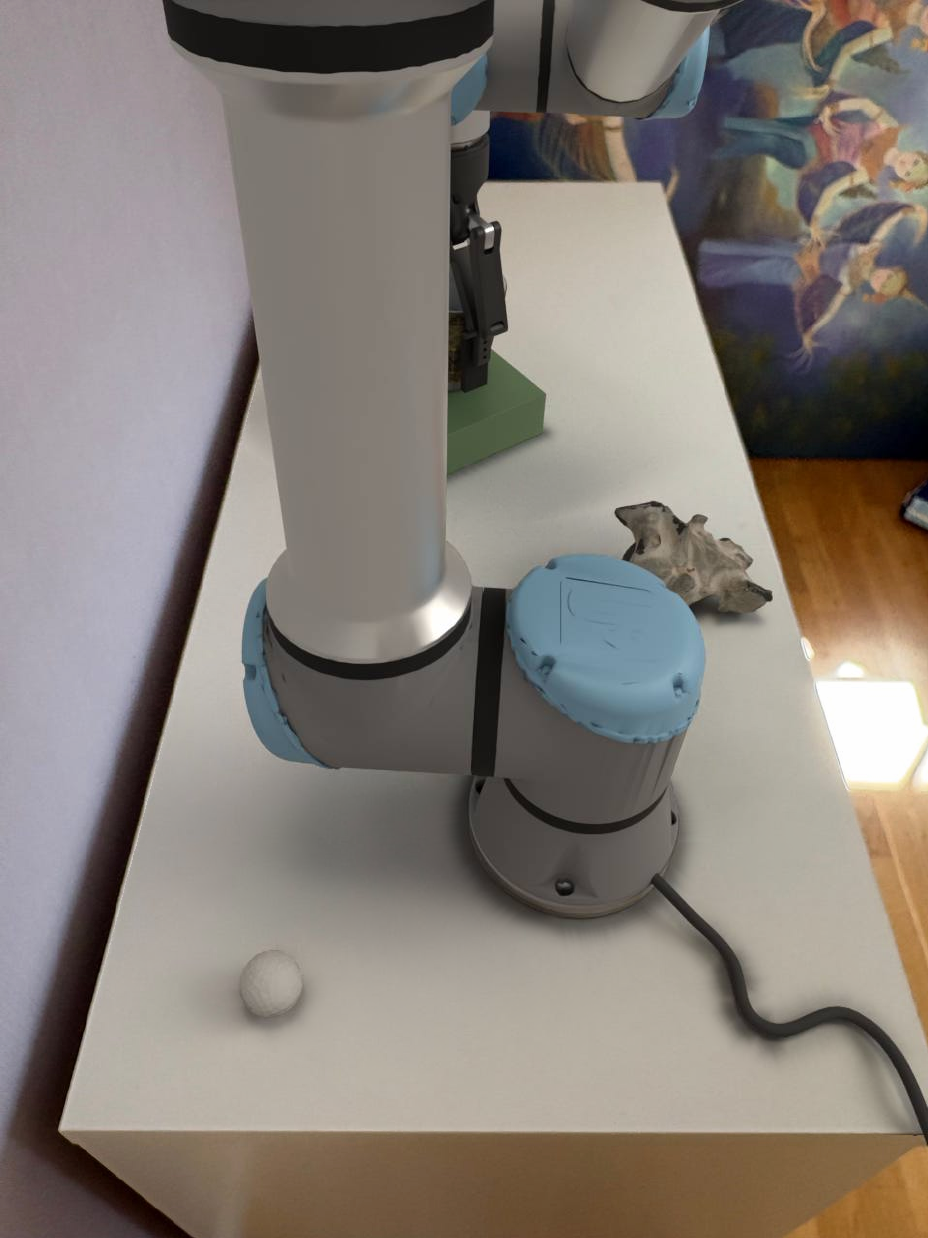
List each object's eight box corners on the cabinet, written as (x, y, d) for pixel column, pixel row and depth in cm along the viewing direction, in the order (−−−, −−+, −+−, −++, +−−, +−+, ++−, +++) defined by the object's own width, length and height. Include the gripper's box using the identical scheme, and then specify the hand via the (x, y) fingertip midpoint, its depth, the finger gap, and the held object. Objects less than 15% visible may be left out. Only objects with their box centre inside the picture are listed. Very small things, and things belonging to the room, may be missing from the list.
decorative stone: (779, 625, 80) (688, 673, 87) (779, 553, 86) (695, 604, 93) (645, 511, 75) (559, 572, 82) (655, 444, 81) (575, 505, 88)
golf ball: (233, 1013, 62) (222, 991, 59) (261, 956, 64) (252, 931, 61) (289, 1035, 61) (281, 1013, 58) (316, 975, 63) (309, 952, 60)
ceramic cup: (424, 333, 103) (424, 246, 95) (513, 354, 101) (520, 267, 93) (376, 404, 95) (372, 315, 87) (471, 428, 93) (476, 339, 85)
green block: (542, 432, 101) (546, 393, 98) (423, 485, 96) (423, 445, 92) (461, 363, 109) (462, 324, 106) (347, 408, 104) (344, 368, 100)
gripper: (563, 171, 76) (541, 404, 92) (410, 77, 87) (415, 300, 104) (486, 195, 73) (477, 431, 90) (338, 95, 85) (355, 320, 101)
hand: (444, 360), depth 97 cm, fingers closed on ceramic cup, 10 cm apart
